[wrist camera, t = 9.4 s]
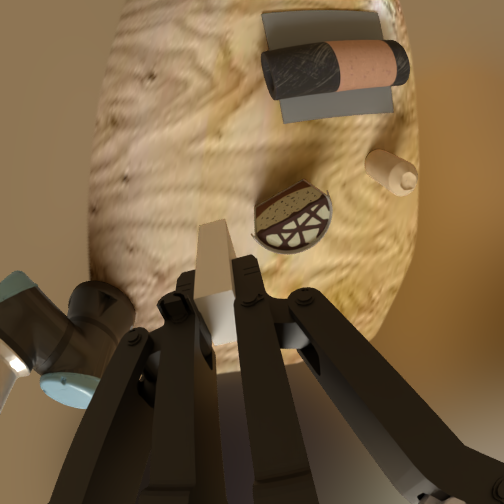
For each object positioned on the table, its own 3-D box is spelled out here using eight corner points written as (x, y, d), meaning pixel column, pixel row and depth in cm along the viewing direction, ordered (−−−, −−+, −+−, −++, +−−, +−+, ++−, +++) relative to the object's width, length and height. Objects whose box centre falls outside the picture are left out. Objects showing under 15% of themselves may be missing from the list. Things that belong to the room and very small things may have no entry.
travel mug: (279, 112, 35) (407, 94, 34) (271, 60, 28) (412, 50, 27) (265, 88, 39) (381, 73, 38) (257, 44, 32) (383, 33, 32)
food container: (264, 239, 51) (273, 272, 43) (246, 211, 48) (251, 241, 40) (326, 204, 49) (348, 230, 40) (311, 174, 46) (332, 195, 37)
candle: (365, 181, 47) (393, 202, 39) (362, 150, 44) (392, 166, 36) (391, 176, 47) (422, 197, 38) (390, 147, 44) (423, 162, 36)
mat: (283, 123, 41) (284, 123, 41) (261, 14, 32) (261, 13, 31) (391, 112, 41) (393, 112, 40) (375, 13, 32) (377, 12, 31)
